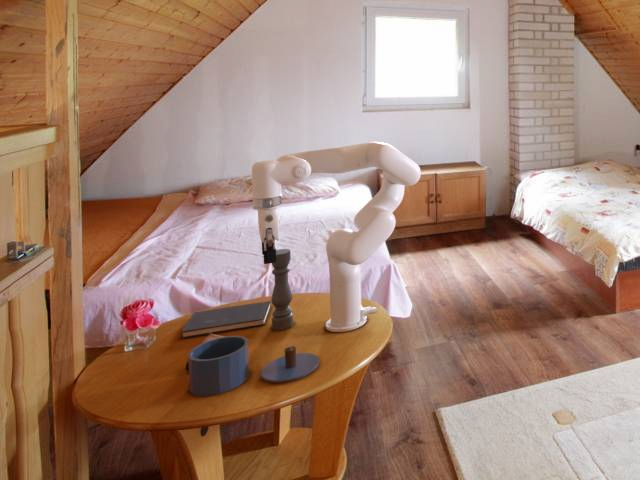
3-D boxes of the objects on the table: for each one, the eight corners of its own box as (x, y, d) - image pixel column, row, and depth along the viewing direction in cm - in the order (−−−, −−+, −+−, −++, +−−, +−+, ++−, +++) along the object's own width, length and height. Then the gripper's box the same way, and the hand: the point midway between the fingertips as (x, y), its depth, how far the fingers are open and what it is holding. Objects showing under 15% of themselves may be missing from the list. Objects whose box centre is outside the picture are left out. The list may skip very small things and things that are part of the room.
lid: (316, 351, 174) (315, 331, 173) (322, 374, 161) (322, 352, 161) (260, 366, 166) (259, 345, 166) (262, 390, 153) (261, 367, 153)
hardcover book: (264, 325, 191) (264, 318, 191) (181, 338, 183) (181, 331, 182) (271, 306, 206) (271, 300, 206) (194, 318, 197) (194, 311, 197)
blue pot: (248, 363, 167) (247, 331, 167) (249, 385, 156) (248, 351, 155) (191, 377, 160) (189, 344, 160) (188, 402, 148) (186, 366, 148)
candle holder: (297, 323, 193) (295, 249, 192) (281, 331, 187) (279, 255, 186) (283, 320, 195) (281, 247, 194) (267, 329, 189) (265, 253, 188)
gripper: (283, 206, 168) (285, 264, 169) (279, 194, 183) (281, 248, 183) (253, 210, 164) (255, 269, 165) (251, 198, 179) (253, 252, 179)
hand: (269, 258), depth 174 cm, fingers open, 9 cm apart
